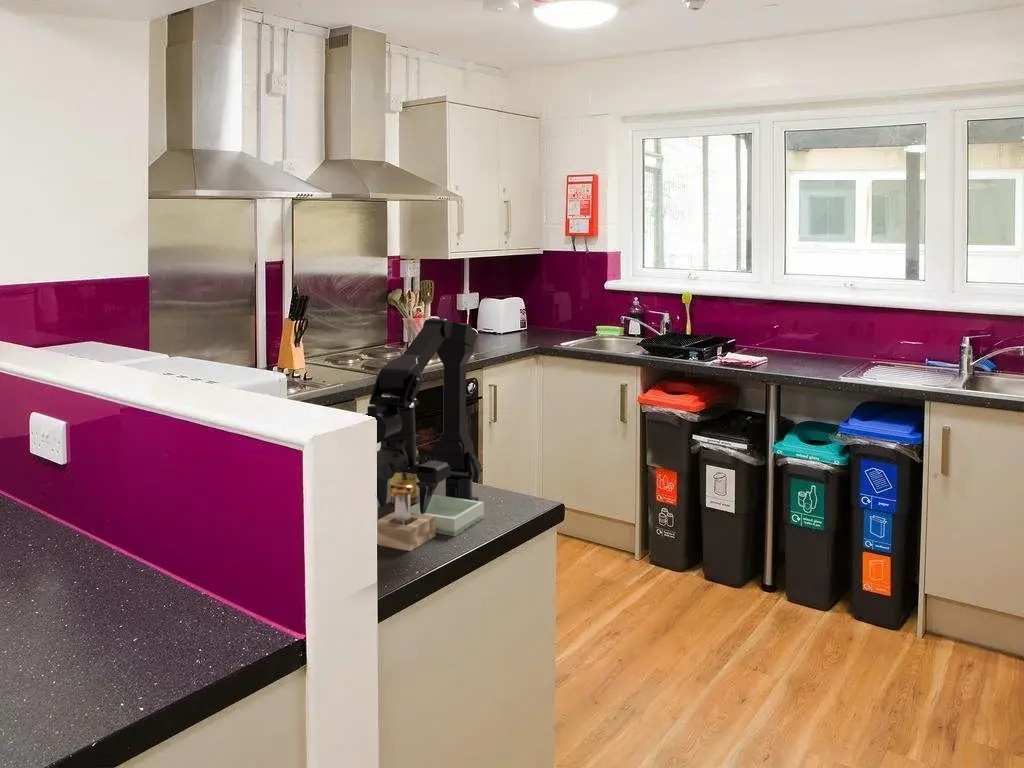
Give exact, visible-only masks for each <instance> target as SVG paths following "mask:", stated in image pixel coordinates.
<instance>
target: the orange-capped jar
mask: <svg viewBox="0 0 1024 768" xmlns="http://www.w3.org/2000/svg"><path fill="white" fill-rule="evenodd" d="M413 491H414V485H413V484H412V483H407V482H400V483H394V484H392V485H391V492H392V493H394V494H395V504H394V512H395V524H401V525H408V524H410V523H411V507H412V505H410V493H411V492H413Z"/></svg>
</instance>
